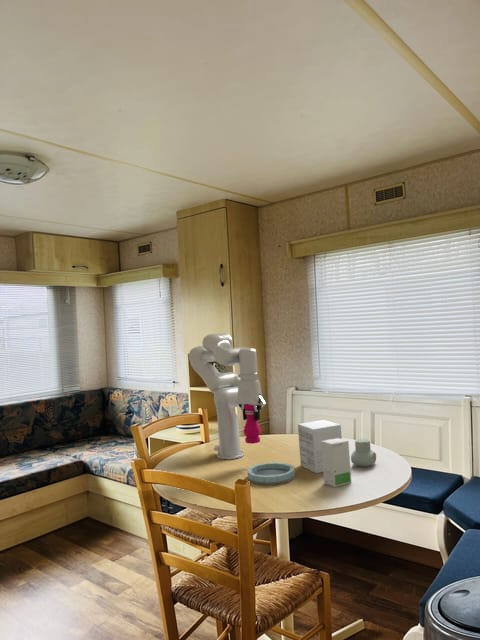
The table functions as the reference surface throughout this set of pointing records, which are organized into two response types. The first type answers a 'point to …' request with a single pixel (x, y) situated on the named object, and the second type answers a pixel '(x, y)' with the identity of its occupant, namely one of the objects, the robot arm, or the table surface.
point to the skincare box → (336, 462)
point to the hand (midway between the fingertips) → (251, 419)
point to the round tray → (271, 473)
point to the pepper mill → (251, 426)
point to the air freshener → (363, 454)
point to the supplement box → (315, 442)
